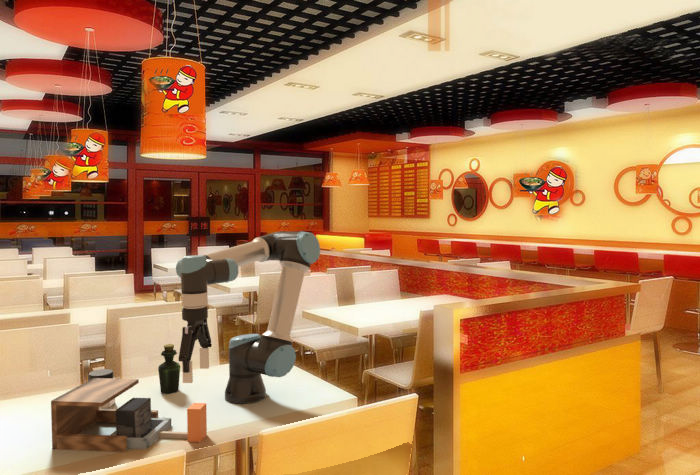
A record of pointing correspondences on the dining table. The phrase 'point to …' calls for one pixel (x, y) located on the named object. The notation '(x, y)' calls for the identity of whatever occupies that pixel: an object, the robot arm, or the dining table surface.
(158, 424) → the grey and orange frame
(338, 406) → the dining table surface
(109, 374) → the jar
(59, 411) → the shelf lane
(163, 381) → the potion bottle
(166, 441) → the dining table surface
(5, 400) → the dining table surface
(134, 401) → the small box
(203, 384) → the dining table surface
